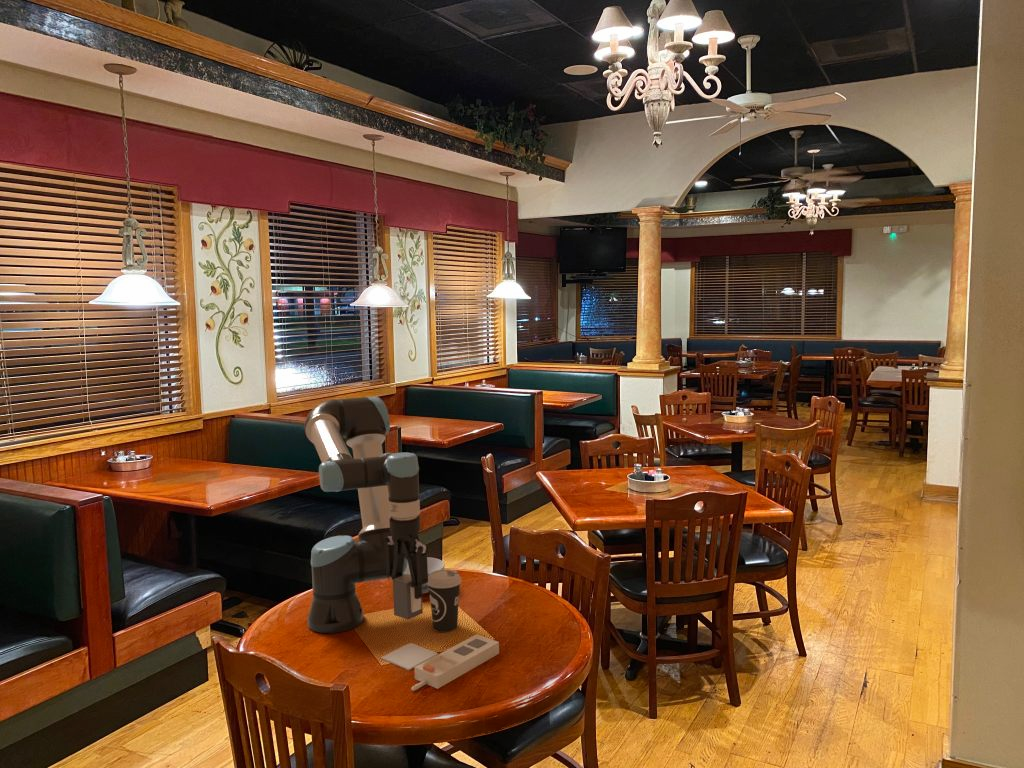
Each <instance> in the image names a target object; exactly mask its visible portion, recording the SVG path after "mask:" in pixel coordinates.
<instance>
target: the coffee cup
mask: <svg viewBox="0 0 1024 768" xmlns="http://www.w3.org/2000/svg"><path fill="white" fill-rule="evenodd" d="M462 582H463V581H462V577H461V576H460V575H459V571H457V570H454V569H450V568H449V569H448V568H444V569H440V570H436V571H433V572H431V573H430V574H429V577H428V583H426V584H427V585H428V587H429V592H428V593H429V602H430V608H431V609H430V610H431V618H432V619H431V620H432V626H433V627H432V629H433V630H434V631H436V632H439V633H449V632H453V631H456V630H457V628H458V621H459V606H460V605H459V603H460V602H459V601H460V585H461V583H462Z"/></svg>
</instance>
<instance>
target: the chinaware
mask: <svg viewBox="0 0 1024 768" xmlns="http://www.w3.org/2000/svg"><path fill="white" fill-rule="evenodd" d="M427 566H428V577H429V574H430V573H431V572H433V571H436V570H440V569H445V562H444V561H443V560H441V559H439V558H437V557H436V558H435V557H430V556H429V557H428V556H427ZM406 574H410V570H409V565H408V562H407V567H406V570H405V572H404V573H403V575H406ZM427 593H429V587H428V585H427V584H423V585H422V594H427Z"/></svg>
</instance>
